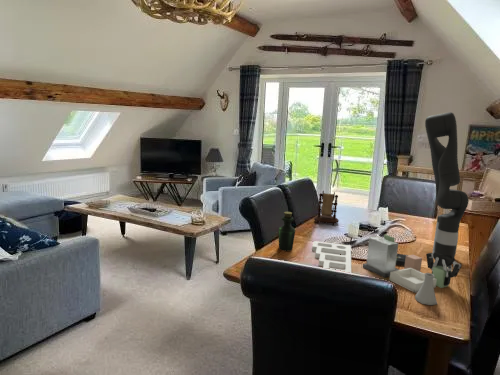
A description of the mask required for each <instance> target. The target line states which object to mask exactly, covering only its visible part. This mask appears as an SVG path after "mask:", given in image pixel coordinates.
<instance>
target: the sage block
mask: <svg viewBox="0 0 500 375" xmlns="http://www.w3.org/2000/svg"><path fill="white" fill-rule="evenodd" d="M431 274H433V275H434V276H435V277H434V278H436V279H437V281H436V287H439V288H440V289H443V288H447V287H449V285H450V284H449V285H448V286H444V279H445V277H446V276H445V271H444V268H443V267H442V266H438V267H433V273H432V272H431Z"/></svg>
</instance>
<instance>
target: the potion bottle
mask: <svg viewBox="0 0 500 375" xmlns="http://www.w3.org/2000/svg"><path fill="white" fill-rule="evenodd" d="M283 214H284V215H283V216H282V217H281V220H282V221H283V225H281V226H279V227H278V249H279V250H280V251H283V252H291V251H292V250H293V246H294V241H295V235H296V229H295V227H293V226H292V225H291V224H292V222H294V217H293V216H292V214H293V212H291V211H284V212H283Z"/></svg>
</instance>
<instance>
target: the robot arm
mask: <svg viewBox="0 0 500 375" xmlns="http://www.w3.org/2000/svg"><path fill="white" fill-rule="evenodd" d="M456 119H457V118H456V115H455V114H454V113H453V112H443V113H438V114H437V113H436V114H432V115H429V116H427V117H426V118H425V122H424V123H425V124H424V126H425V127H424V128H425V131H426V136H427V139H428V140H427V141H428V145H429V149H430V150H429V151H430V156H431V166H432V172H433V176H434V183H435V199H436V205H437V206H438V207H440V208H441V209H444V210H450V212H448V213H443V214H439V215H438V216H437V219H436V224H435V230H434V231H435V233H434V239H433V240H434V241H433V246H432V252H428V253H426V264H427V269H430V270H431V274H432V273H433V267H438V266H442V267H443V268H444V271H445V276H446V277H445V279H444V286H447V287H449V286H448V285H450V284H451V279H452V278H455V277H458V274H459V272H460V271H461V268H462V266H463V264H462V263H459V262H457V261H456V259H455V256H456V255H457V254H456V253H457V247H458V240H459V229H460V223H461V220H462V218H463V216H464V214H465V212H466V210H467V208H468V206H469V203H470V202H469V201H470V200H469V196H468V194H467V193H466V192H465V191H462V190H460V189H459V190H458V189H454V188H451V187H454V186H458V185H459V184H460V182H461V176H460V170H459V160H458V128H457V127H458V126H457V120H456ZM444 137H448V140H447V145H446V146H444V145H443V143H442V142H440V140H439V138H444ZM452 265H453V266H452Z"/></svg>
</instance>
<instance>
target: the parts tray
mask: <svg viewBox="0 0 500 375" xmlns="http://www.w3.org/2000/svg"><path fill="white" fill-rule="evenodd" d="M424 279H425V273H424V272H421V271H420V272H419V271H417V270H415V269H412V268H407V269H404V268H403V269H399V270H397V271H393V272H390V277H389V281H390V282H393V283H394V284H397V285H398V286H401V287H403V288H404V289H406V290H408V291H411V292H412V293H416V294H417V292H418V291H419V289H420V288H421V286H422V284H423V282H424ZM436 281H437V279H436V278H433V288H434V289H436V287H437V286H436Z"/></svg>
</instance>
